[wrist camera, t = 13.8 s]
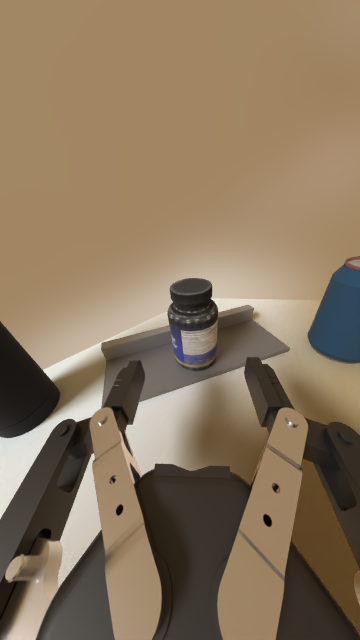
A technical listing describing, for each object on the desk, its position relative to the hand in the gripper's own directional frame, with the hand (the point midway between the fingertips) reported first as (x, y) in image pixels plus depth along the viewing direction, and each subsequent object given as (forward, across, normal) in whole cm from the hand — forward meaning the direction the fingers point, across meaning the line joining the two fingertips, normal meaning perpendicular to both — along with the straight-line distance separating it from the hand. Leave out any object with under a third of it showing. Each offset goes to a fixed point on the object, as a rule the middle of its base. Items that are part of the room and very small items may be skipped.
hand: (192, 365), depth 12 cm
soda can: (+10, -20, +9) cm, 24 cm away
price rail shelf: (+9, 0, +8) cm, 12 cm away
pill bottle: (+9, 0, +8) cm, 12 cm away
